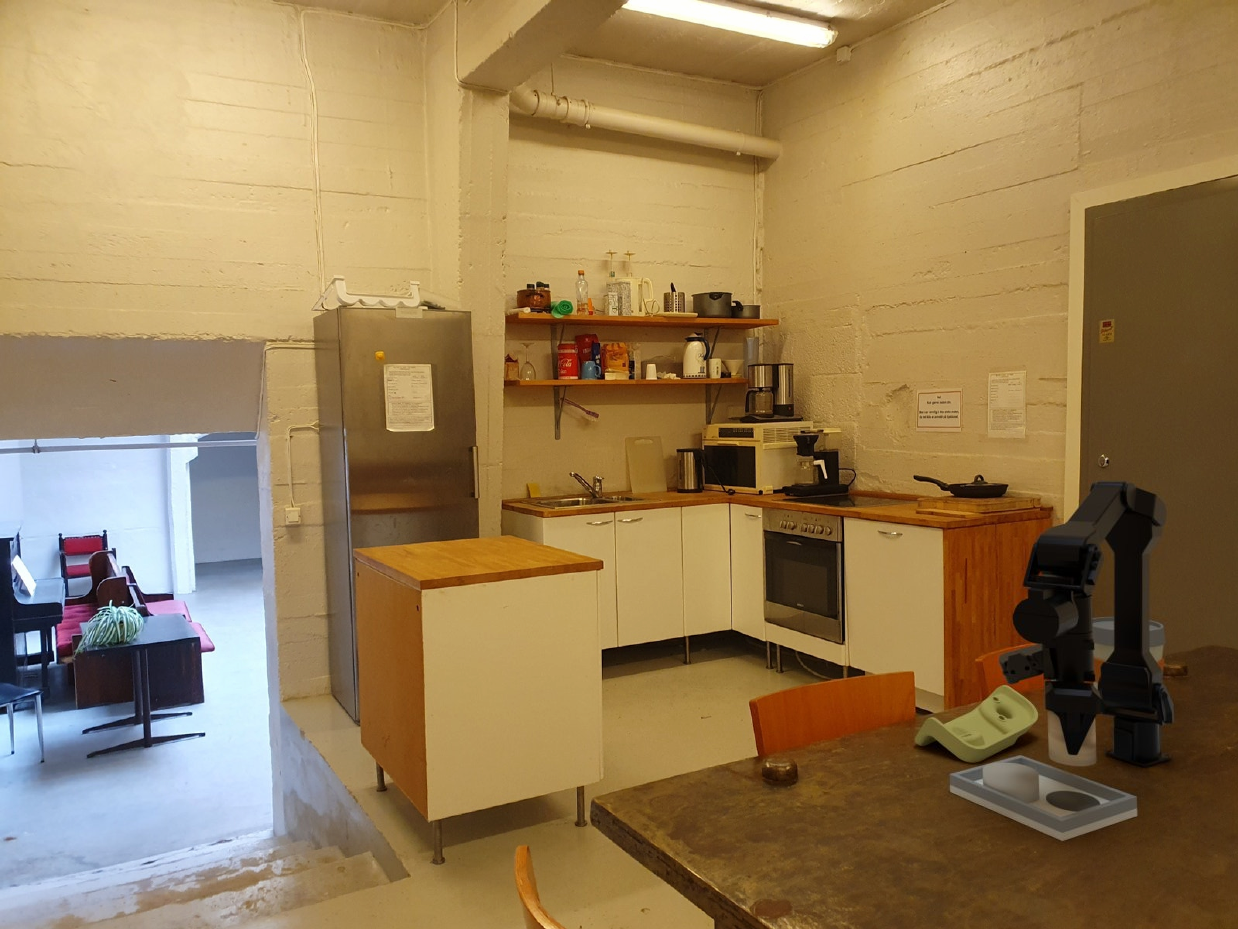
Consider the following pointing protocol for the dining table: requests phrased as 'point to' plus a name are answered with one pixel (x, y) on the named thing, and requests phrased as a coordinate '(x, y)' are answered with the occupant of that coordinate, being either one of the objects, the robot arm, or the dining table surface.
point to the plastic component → (983, 726)
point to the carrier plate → (1044, 796)
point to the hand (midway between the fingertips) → (1071, 747)
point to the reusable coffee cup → (1105, 642)
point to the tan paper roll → (1059, 747)
